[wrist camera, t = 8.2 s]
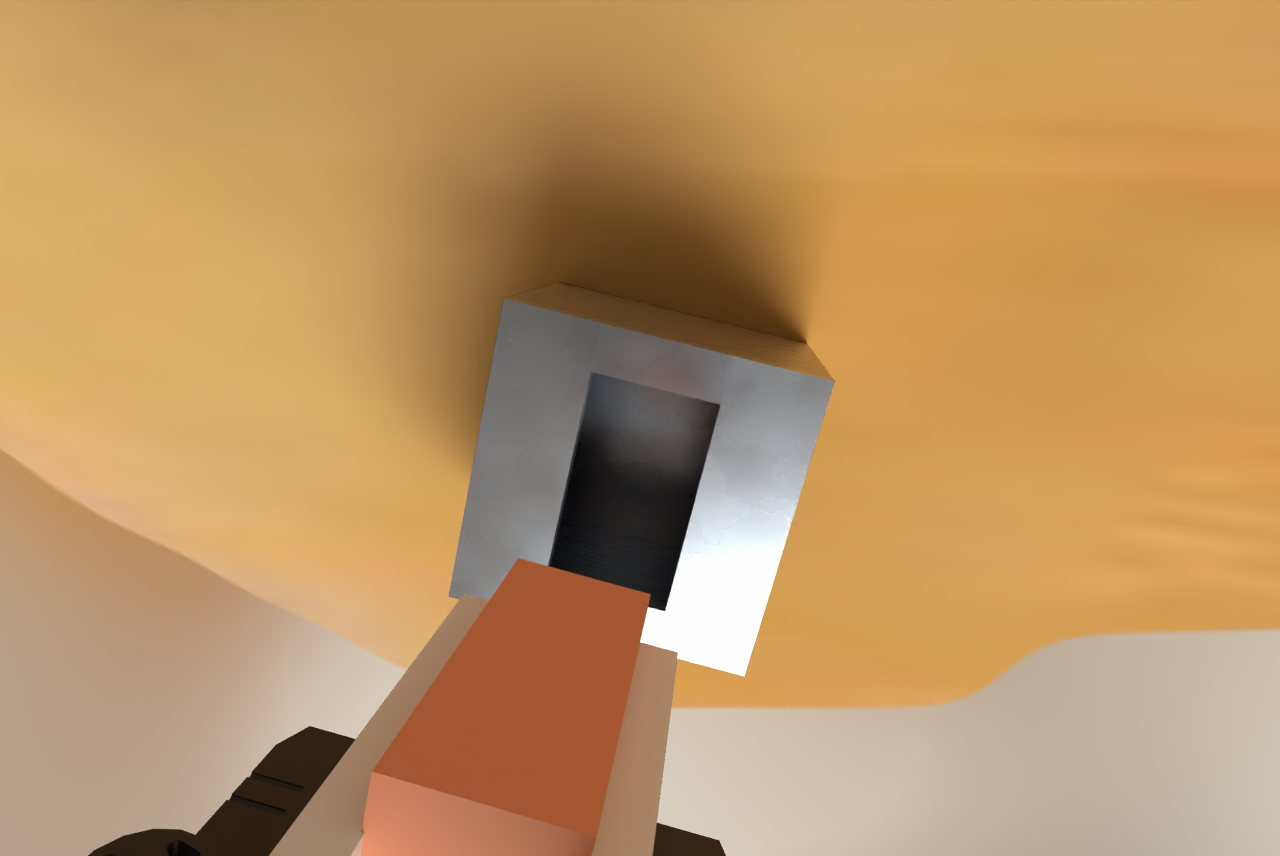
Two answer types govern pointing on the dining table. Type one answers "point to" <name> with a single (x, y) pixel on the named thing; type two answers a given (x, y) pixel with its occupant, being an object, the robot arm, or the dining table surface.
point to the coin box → (643, 461)
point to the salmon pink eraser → (514, 726)
